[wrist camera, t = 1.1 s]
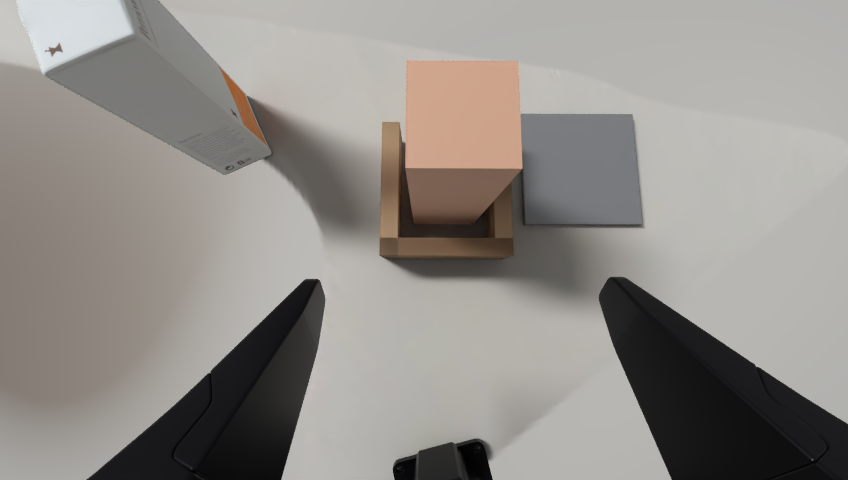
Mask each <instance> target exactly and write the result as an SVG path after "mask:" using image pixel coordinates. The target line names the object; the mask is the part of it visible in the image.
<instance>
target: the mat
mask: <svg viewBox="0 0 848 480" xmlns="http://www.w3.org/2000/svg"><path fill="white" fill-rule="evenodd" d="M520 116H521V141H522V165H523V169H522V190H523V214H524V225H641V224H642V213H641V203H640V192H639V181H638V170H637V159H636V149H635V138H634V127H633V116H632V114H521V115H520Z"/></svg>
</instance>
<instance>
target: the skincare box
mask: <svg viewBox="0 0 848 480" xmlns="http://www.w3.org/2000/svg"><path fill="white" fill-rule="evenodd" d="M16 4H17V9H18V12H19V14H20V18H21V21H22V24H23V25H24V27H25V29H26V30H27V32H28V34H29V37H30V40H31V43H32V45H33V48H34V51H35V54H36V57H37V60H38V63H39V65H40V68H41V71H42V73H43V75H45V76H46V77H48V78H49V79H51V80H53V81H55V82H56V83H58V84H60V85H62V86H64V87H65V88H67V89H69V90H71V91H73V92H75V93H76V94H78V95H80V96H82V97H83V98H85V99H87V100H89V101H91V102H93V103H95V104H96V105H98V106H100V107H102V108H104V109H105V110H107V111H109V112H111V113H113V114H115V115H116V116H118V117H120V118H122V119H124V120H126V121H127V122H129V123H131V124H133V125H135V126H136V127H138V128H140V129H142V130H144V131H145V132H147V133H149V134H151V135H153V136H155V137H156V138H158V139H160V140H162V141H163V142H166V143H167V144H169V145H171V146H173V147H174V148H176V149H178V150H180V151H182V152H183V153H185V154H187V155H189V156H191V157H192V158H194V159H196V160H198V161H200V162H202V163H203V164H205V165H207V166H209V167H211V168H212V169H214V170H216V171H218V172H220V173H221V174H223V175H226V174H229V173H231V172H233V171H236V170H238V169H240V168H242V167H244V166H247V165H249V164H251V163H253V162H256V161H258V160H260V159H262V158H265V157H267V156H269V155H271V150H270V148H269V146H268V144H267V142H266V140H265V137H264V135H263V133H262V131H261V129H260V127H259V124H258V122H257V120H256V117H255V115H254V112H253V110H252V108H251V105H250V103H249V100H248V98H247V96H246V94H245V93H244V92H243V91H242V90H241V89H240V87H239V86H238V85H237V84H236V83H235V82H234V81H233V80H232V79H231V78H230V77H229V75H228V74H227V73H226V72H225V71H224V70H223V69H222V68H221V67H220V66H219V65H218V64H217V63H216V61H215V60H214V59H213V58H212V57H211V56H210V55H209V54H208V53H207V52H206V51H205V50H204V49H203V47H202V46H201V45H200V44H199V43H198V42H197V41H196V40H195V39H194V38H193V37H192V36H191V35H190V33H189V32H188V31H187V30H186V29H185V28H184V27H183V26H182V25H181V24H180V23H179V22H178V21H177V20H176V19H175V17H174V16H173V15H172V14H171V13H170V12H169V11H168V10H167V9H166V8H165V7H164V6H163V5H162V4H161V2H160V1H159V0H16Z"/></svg>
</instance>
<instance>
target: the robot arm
mask: <svg viewBox="0 0 848 480" xmlns="http://www.w3.org/2000/svg"><path fill="white" fill-rule="evenodd" d="M599 302H600V305H601V308H602V311H603V315H604V318H605V321H606V324H607V327H608V331H609V334H610V337H611V340H612V343H613V346H614V348H615V351H616V353H617V355H618V358H619V360H620V362H621V364H622V367H623V369H624V371H625V374H626V376H627V378H628V380H629V383H630V385H631V387H632V389H633V392H634V394H635V396H636V399H637V401H638V403H639V406H640V408H641V410H642V412H643V415H644V417H645V419H646V422H647V424H648V425H649V428H650V431H651V433H652V435H653V438H654V440H655V442H656V444H657V447H658V449H659V451H660V454H661V456H662V458H663V460H664V463H665V465H666V467H667V469H668V472H669V474H670V476H671V479H672V480H848V424H847V423H845V422H844V421H842V420H840V419H839V418H837V417H835V416H834V415H832V414H830V413H829V412H827V411H826V410H824V409H822V408H821V407H819V406H818V405H816V404H814V403H813V402H811V401H810V400H808V399H806V398H805V397H803V396H801V395H800V394H798V393H797V392H795V391H794V390H792V389H791V388H789V387H788V386H786V385H785V384H783V383H782V382H780V381H778V380H777V379H776V378H774V377H773V376H771V375H770V374H768V373H766V372H765V371H764V370H762V369H761V368H759V367H756V366H755V364H753V363H752V362H750V361H749V360H747V359H746V358H744V357H742V356H741V355H740V354H738V353H737V352H735V351H733V350H732V349H730V348H729V347H728V346H726V345H725V344H723V343H722V342H720V341H719V340H717V339H716V338H714V337H713V336H711V335H710V334H709V333H707V332H706V331H704V330H703V329H701V328H699V327H698V326H697V325H695V324H694V323H692V322H690V321H689V320H688V319H686V318H685V317H683V316H682V315H680V314H679V313H677V312H676V311H674V310H673V309H671V308H670V307H668V306H667V305H665V304H664V303H662V302H661V301H659V300H658V299H656V298H655V297H653V296H652V295H650V294H649V293H648V292H646V291H645V290H643V289H642V288H640V287H639V286H637V285H636V284H634V283H633V282H631V281H630V280H628V279H627V278H625V277H610V278H609V279H608V280H607V281H606V283H605V285H604V287H603V288H602V290H601V292H600V294H599ZM324 307H325V295H324V292H323V289H322V285H321V282H320V280H318V279H306V280H304V281H303V282H302V283H301V284H300V285H299V286H298V287H297V288H296V289H295V290H294V291H293V292H291V293H290V295H288V296H287V297H286V298H285V299H284V300H283V301H282V302H281V303H280V304H279V305H278V306H277V307H276V308H275V309H274V310H273V311H272V312H271V313H270V314H269V315H268V316H267V317H266V318H265V319H264V320H263V321H262V322H261V323H260V324H259V325H257V327H255V328H254V329H253V330H252V331H251V332H250V333H249V334H248V335H247V336H246V337H245V338H244V339H243V340H242V341H241V342H240V343H239V344H238V345H237V346H236V347H235V348H234V349H233V350H232V351H231V352H230V353H229V354H228V355H227V356H226V357H225V358H224V359H222V361H221V362H219V363H218V364H217V365H216V366H215V367H214V368H213V369H212V370H211V373H208V374H207V375H206V376H205V377H204V378H203V379H202V380H201V381H200V382H199V383H198V384H197V385H196V386H194V388H192V389H191V390H190V391H189V392H188V393H187V394H186V395H185V396H184V397H183V398H182V399H181V400H180V401H178V402H177V403H176V404H175V405H174V406H173V407H172V408H171V409H170V410H168V411H167V412H166V413H165V414H164V415H163V416H161V417H160V418H159V419H158V420H157V421H156V422H155V423H153V424H152V425H151V426H150V427H149V428H148V429H146V430H145V431H144V432H143V433H142V434H141V435H139V436H138V437H137V438H136V439H135V440H133V441H132V442H131V443H130V444H129V445H127V447H125V448H124V449H123V450H122V451H120V452H119V453H118V454H117V455H116V456H114V457H113V458H112V459H111V460H110V461H109V462H107V463H106V464H105V465H104V466H103V467H102V468H100V469H99V470H98V471H97V472H96V473H94V474H93V475H92V476H91V477H89V478H88V479H87V480H281V478H282V475H283V471H284V467H285V464H286V460H287V456H288V453H289V450H290V446H291V443H292V439H293V435H294V432H295V428H296V425H297V421H298V418H299V414H300V411H301V407H302V404H303V400H304V396H305V393H306V389H307V386H308V382H309V379H310V375H311V372H312V368H313V364H314V361H315V357H316V353H317V349H318V344H319V338H320V332H321V326H322V320H323V313H324ZM476 445H479V446H480V448H479V449H478V450H475V449H474V447H475V446H476ZM399 466H402V467H403V470H402V471H399V470H398V469H397V467H399ZM393 474H394V479H395V480H493V479H492V476H491V472H490V468H489V464H488V460H487V456H486V452H485V448H484V445H483V443H482V441H481V440H480V439H472V440H468V441H465V442H461V443H457V444H455V443H453V442H451V443H447V444H443V445H439V446H436V447H432V448H428V449H425V450H421V451H419V452H418V454H416V455H413V456H409V457H405V458H401V459H398V460H396V462H395V463H394V466H393Z"/></svg>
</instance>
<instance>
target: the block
mask: <svg viewBox="0 0 848 480" xmlns="http://www.w3.org/2000/svg"><path fill="white" fill-rule="evenodd" d="M405 169H406V176H407V182H408V189H409V195H410V202H411V208H412V215H413V221H414V224H473V223H474V222H475V221H476V220H477V219H478V218H479V217H480V216H481V214H482V213H483V212H484V211H485V210H486V209H487V208H488V207H489V206H490V204H491V203H492V202H493V201H494V200H495V199H496V198H497V197H498V196H499V194H500V193H501V192H502V191H503V190H504V189H505V188H506V187H507V186H508V184H509V183H510V182H511V181H512V180H513V179H514V178H515V177H516V175H517V174H518V173H519V172H520V171H521V170H522V169H523V165H522V141H521V116H520V92H519V68H518V61H407V65H406V155H405Z"/></svg>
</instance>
